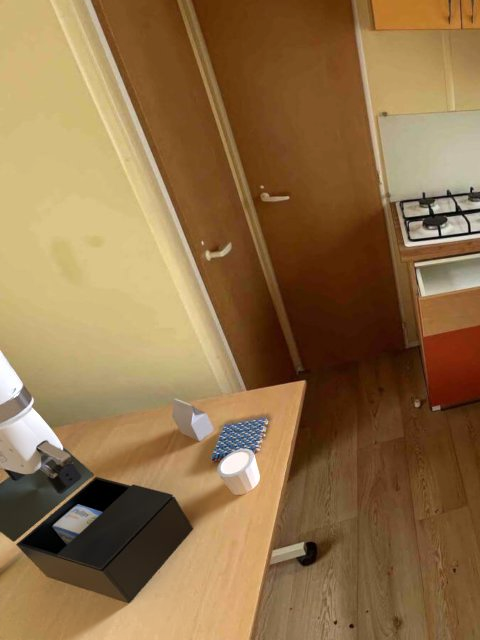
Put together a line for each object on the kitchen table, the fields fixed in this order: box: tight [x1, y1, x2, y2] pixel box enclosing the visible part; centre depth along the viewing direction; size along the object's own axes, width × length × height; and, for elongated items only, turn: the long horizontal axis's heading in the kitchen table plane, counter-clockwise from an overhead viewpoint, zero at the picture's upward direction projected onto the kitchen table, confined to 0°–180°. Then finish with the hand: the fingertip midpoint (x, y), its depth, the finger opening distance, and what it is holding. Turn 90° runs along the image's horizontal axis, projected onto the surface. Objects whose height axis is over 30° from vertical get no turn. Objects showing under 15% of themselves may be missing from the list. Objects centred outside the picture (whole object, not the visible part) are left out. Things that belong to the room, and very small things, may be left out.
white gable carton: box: [171, 397, 215, 442], centre depth 102 cm, size 4×7×10 cm, turn 69°
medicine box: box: [52, 504, 102, 545], centre depth 79 cm, size 8×4×9 cm, turn 77°
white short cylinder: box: [216, 449, 261, 496], centre depth 91 cm, size 7×7×7 cm
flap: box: [0, 446, 95, 543], centre depth 75 cm, size 9×13×1 cm
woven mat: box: [210, 416, 269, 463], centre depth 102 cm, size 10×11×2 cm
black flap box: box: [15, 476, 194, 604], centre depth 78 cm, size 19×13×11 cm
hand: (48, 479), depth 72 cm, fingers open, 9 cm apart
